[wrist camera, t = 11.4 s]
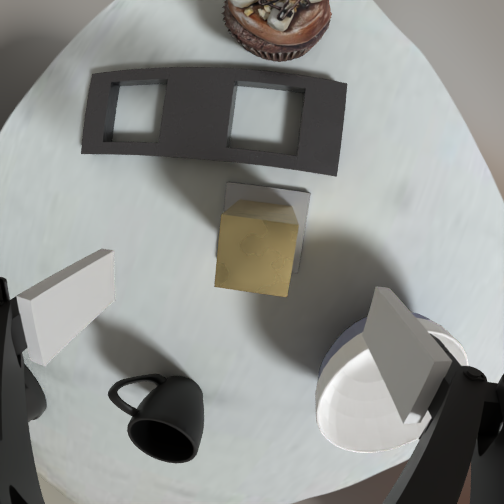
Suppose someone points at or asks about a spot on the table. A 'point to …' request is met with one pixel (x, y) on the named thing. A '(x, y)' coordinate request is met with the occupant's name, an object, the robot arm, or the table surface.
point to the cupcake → (277, 26)
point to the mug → (165, 417)
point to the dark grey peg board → (218, 116)
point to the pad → (275, 197)
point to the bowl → (366, 394)
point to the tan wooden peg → (256, 247)
